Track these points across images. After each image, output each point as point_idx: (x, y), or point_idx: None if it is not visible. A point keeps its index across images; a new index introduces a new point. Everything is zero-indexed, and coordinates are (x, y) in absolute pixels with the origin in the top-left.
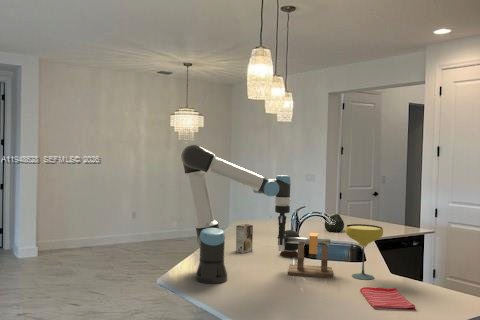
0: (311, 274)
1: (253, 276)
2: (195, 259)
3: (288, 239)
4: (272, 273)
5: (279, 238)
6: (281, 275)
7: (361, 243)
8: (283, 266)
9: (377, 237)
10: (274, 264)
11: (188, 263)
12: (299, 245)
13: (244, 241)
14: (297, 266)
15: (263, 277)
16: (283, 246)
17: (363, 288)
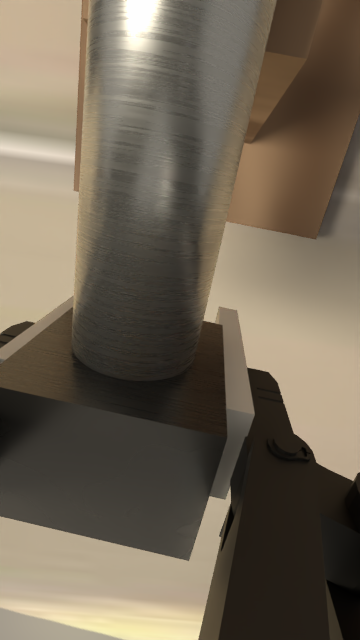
0: None
1: (326, 438)
2: (36, 600)
3: (205, 294)
4: (264, 333)
5: (229, 485)
6: (318, 282)
7: None
8: (72, 236)
9: None
10: (32, 293)
11: (106, 622)
12: (316, 16)
13: None
14: (253, 138)
15: (354, 393)
16: (239, 339)
17: None
